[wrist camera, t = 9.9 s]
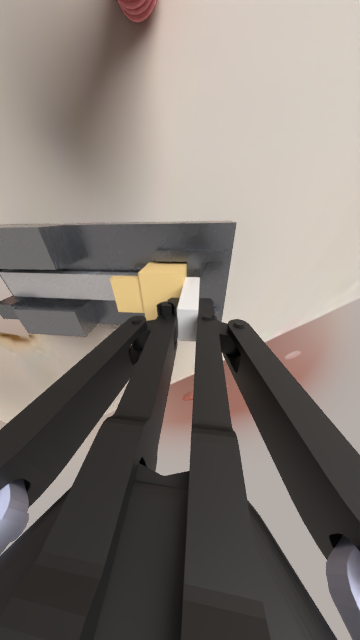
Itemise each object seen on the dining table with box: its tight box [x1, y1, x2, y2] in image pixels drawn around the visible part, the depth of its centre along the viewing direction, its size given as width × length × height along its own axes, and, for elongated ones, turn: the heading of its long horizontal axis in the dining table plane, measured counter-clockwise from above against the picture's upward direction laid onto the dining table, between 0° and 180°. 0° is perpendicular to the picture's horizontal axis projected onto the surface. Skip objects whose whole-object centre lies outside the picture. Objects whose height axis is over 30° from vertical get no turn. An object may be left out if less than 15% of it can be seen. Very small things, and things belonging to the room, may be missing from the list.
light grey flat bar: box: [0, 270, 139, 301], centre depth 19 cm, size 18×3×1 cm, turn 90°
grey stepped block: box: [0, 221, 236, 337], centre depth 20 cm, size 28×12×7 cm, turn 91°
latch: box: [110, 262, 187, 320], centre depth 17 cm, size 7×5×4 cm
